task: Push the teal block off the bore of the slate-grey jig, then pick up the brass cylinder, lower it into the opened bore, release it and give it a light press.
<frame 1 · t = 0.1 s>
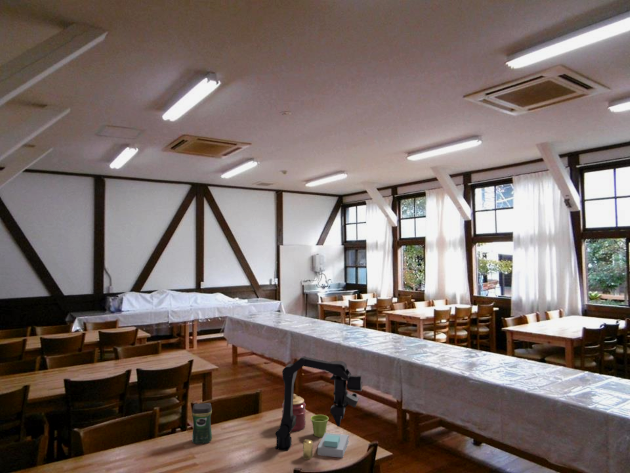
hand: (340, 422, 204), 14 cm above the table, fingers open, 9 cm apart
teal block: (332, 440, 206), point 5 cm above the table, slide at 0.0 cm
canister: (293, 427, 235), on the table
plant pot: (319, 435, 225), on the table
jig: (332, 451, 206), on the table
brass cylinder: (307, 457, 201), on the table
coffee jar: (201, 441, 217), on the table
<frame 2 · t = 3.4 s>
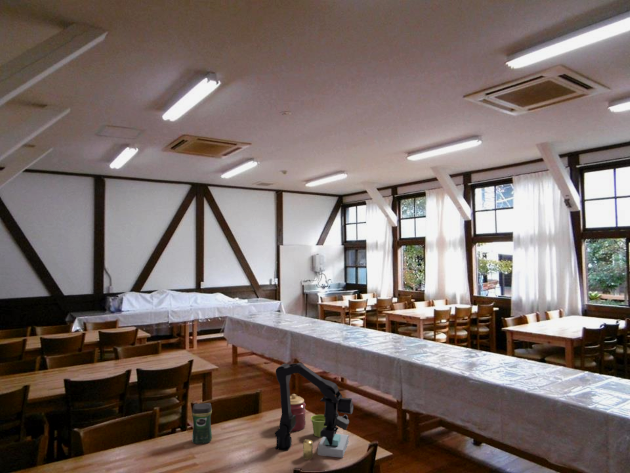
hand: (330, 444, 203), 4 cm above the table, fingers closed
teal block: (332, 439, 208), point 5 cm above the table, slide at 1.5 cm, touching gripper
everything else where it was.
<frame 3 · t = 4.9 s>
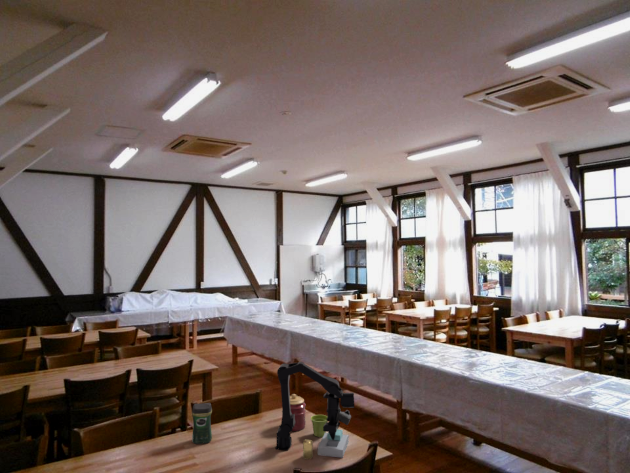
hand: (333, 439, 209), 5 cm above the table, fingers closed
teal block: (335, 434, 213), point 5 cm above the table, slide at 7.4 cm, touching gripper
everything else where it was.
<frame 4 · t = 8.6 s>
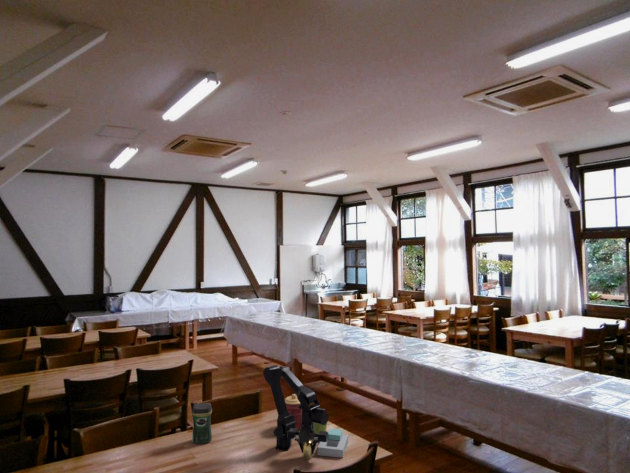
hand: (307, 453, 201), 2 cm above the table, fingers closed on brass cylinder, 4 cm apart
teal block: (335, 434, 213), point 5 cm above the table, slide at 7.4 cm
brass cylinder: (307, 456, 201), on the table, touching gripper
everything else where it was.
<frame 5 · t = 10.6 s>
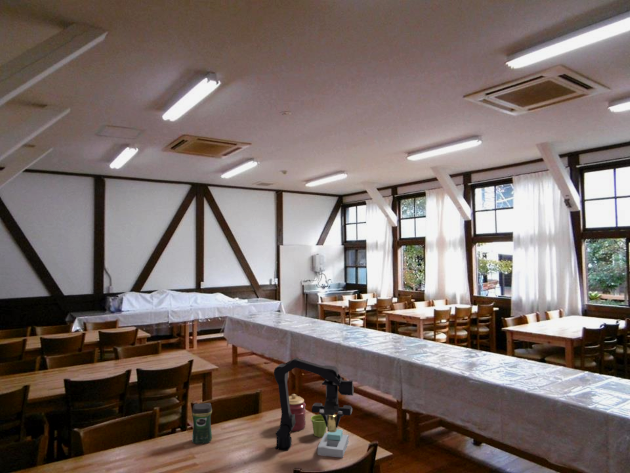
hand: (332, 427, 206), 11 cm above the table, fingers closed on brass cylinder, 4 cm apart
brass cylinder: (332, 430, 206), point 10 cm above the table, touching gripper
everything else where it was.
when the fingers open (4 cm above the table, at t = 12.6 s): brass cylinder drops 3 cm, resting in jig.
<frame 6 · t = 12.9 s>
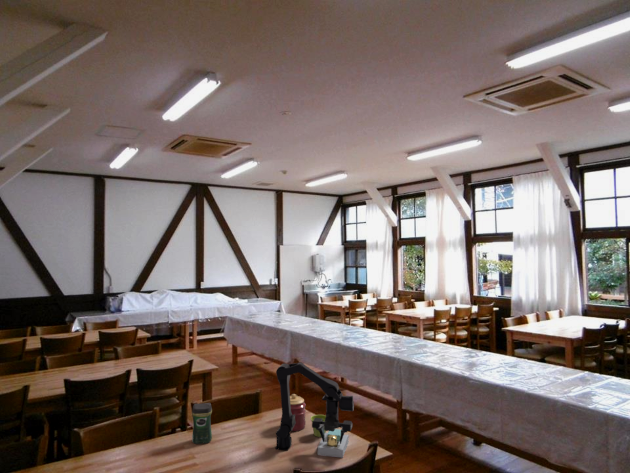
hand: (332, 442, 206), 4 cm above the table, fingers open, 8 cm apart
brass cylinder: (332, 451, 206), resting in jig
everything else where it was.
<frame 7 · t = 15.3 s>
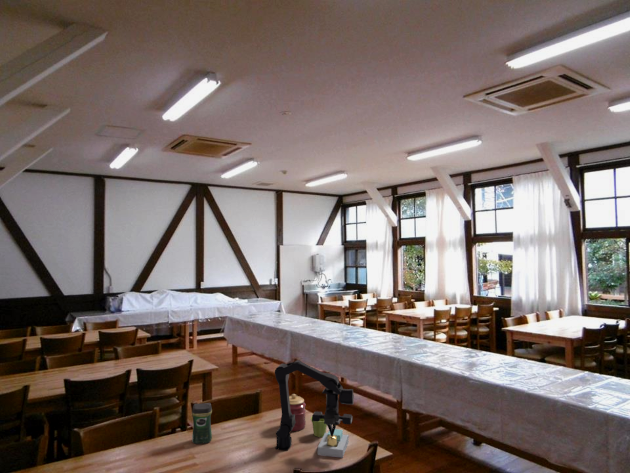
hand: (332, 435, 206), 7 cm above the table, fingers closed
nothing on the table moved.
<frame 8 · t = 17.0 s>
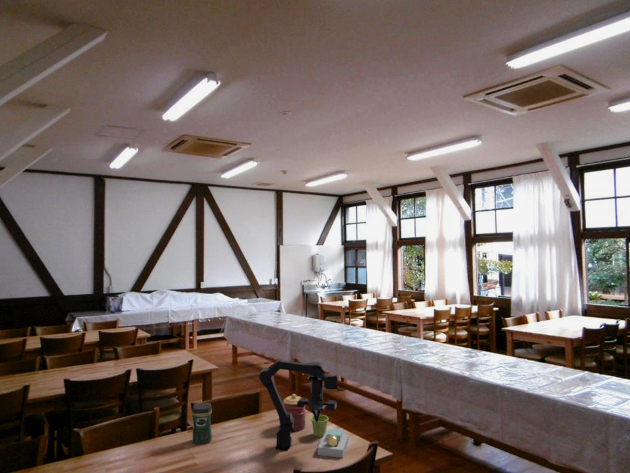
hand: (316, 421, 210), 12 cm above the table, fingers closed
nothing on the table moved.
at the end: brass cylinder 0.1 cm off-centre on the jig, point 0.0 cm above the jig's base; brass cylinder tilted 0°; teal block slide at 7.4 cm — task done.
